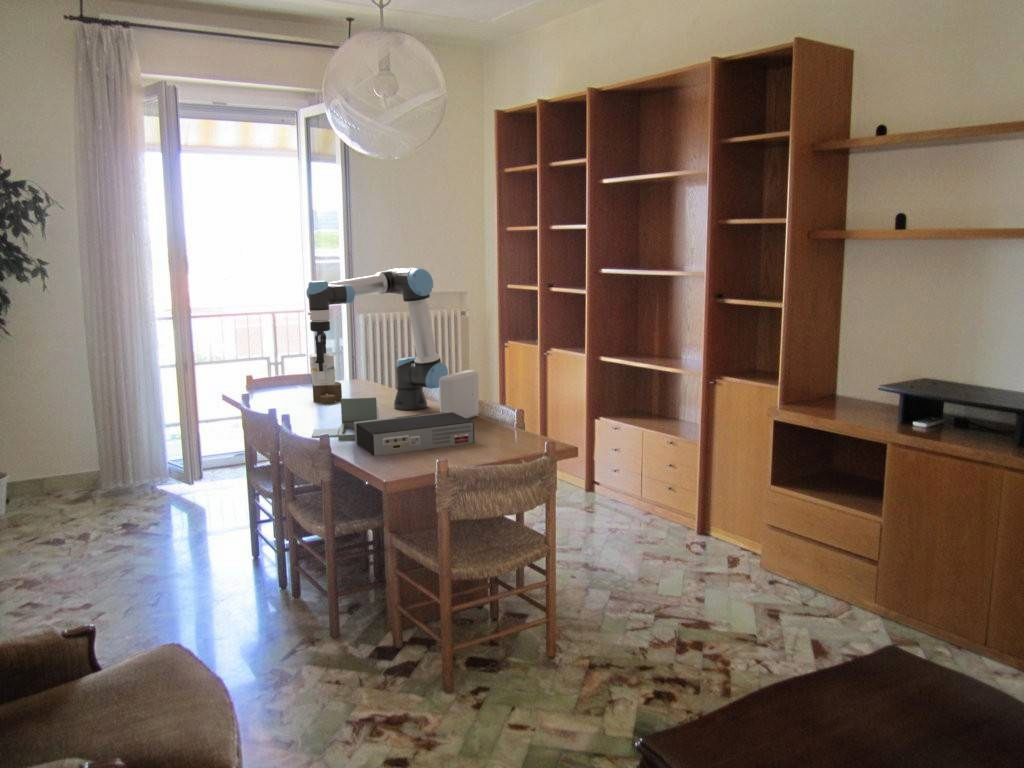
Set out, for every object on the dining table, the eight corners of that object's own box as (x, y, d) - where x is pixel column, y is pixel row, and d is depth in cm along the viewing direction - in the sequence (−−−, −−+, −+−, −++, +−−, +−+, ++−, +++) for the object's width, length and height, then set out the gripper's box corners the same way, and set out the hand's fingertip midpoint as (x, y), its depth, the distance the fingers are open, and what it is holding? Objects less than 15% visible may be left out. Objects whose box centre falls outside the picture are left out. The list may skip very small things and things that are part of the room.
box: (373, 457, 298) (372, 433, 297) (352, 442, 320) (351, 420, 319) (474, 443, 316) (474, 421, 315) (448, 430, 338) (448, 409, 337)
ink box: (310, 382, 333) (309, 353, 331) (332, 381, 336) (330, 352, 334) (313, 386, 325) (312, 356, 323) (335, 384, 328) (334, 355, 326)
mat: (339, 429, 340) (339, 428, 340) (337, 436, 329) (337, 434, 328) (314, 430, 339) (314, 429, 339) (311, 437, 327) (311, 436, 327)
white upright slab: (464, 414, 367) (463, 369, 364) (480, 415, 363) (479, 370, 360) (436, 423, 350) (435, 376, 346) (452, 425, 346) (451, 377, 342)
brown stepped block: (305, 403, 396) (304, 372, 393) (320, 398, 409) (318, 367, 406) (331, 404, 392) (330, 373, 389) (345, 399, 405) (344, 368, 402)
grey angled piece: (380, 425, 347) (378, 397, 345) (378, 438, 324) (377, 408, 322) (342, 426, 345) (340, 398, 343) (338, 440, 322) (336, 410, 320)
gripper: (312, 318, 336) (315, 373, 340) (307, 323, 315) (310, 382, 319) (331, 317, 337) (334, 372, 341) (327, 323, 316) (330, 381, 320)
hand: (322, 377), depth 330 cm, fingers closed on ink box, 9 cm apart
